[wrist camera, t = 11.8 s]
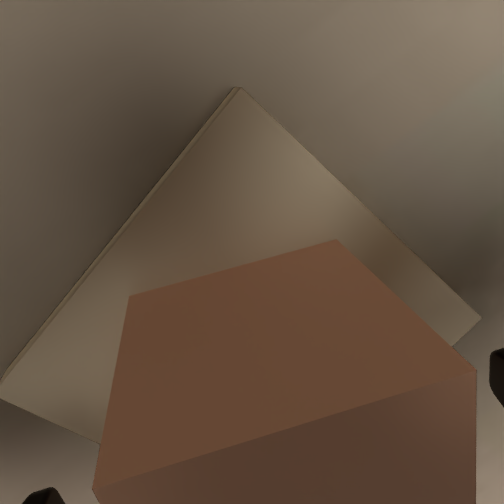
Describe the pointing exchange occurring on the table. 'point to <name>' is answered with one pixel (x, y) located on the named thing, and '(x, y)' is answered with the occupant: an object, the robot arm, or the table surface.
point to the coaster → (211, 255)
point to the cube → (286, 392)
